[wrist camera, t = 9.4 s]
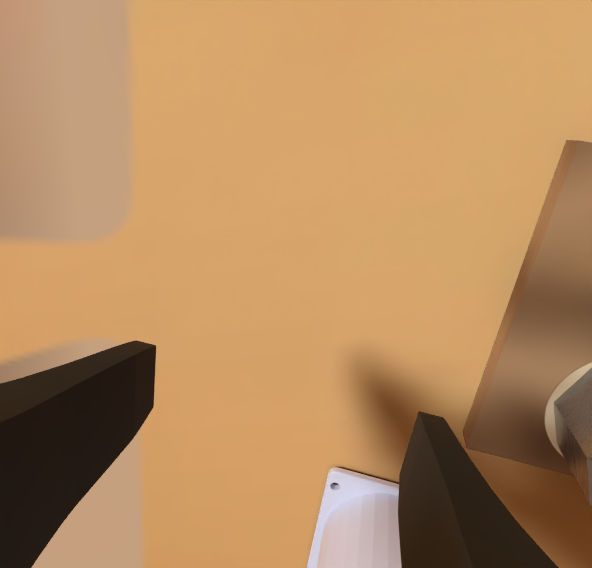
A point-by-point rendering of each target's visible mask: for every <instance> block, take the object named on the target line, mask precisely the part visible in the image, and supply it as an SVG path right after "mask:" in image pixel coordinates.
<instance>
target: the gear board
mask: <svg viewBox="0 0 592 568" xmlns="http://www.w3.org/2000/svg"><path fill="white" fill-rule="evenodd" d="M591 368H592V143H590V142H584V141H573V140H567V141H566V144H565V146H564V149H563V152H562V155H561V158H560V160H559V163H558V166H557V169H556V172H555V175H554V177H553V180H552V183H551V186H550V189H549V191H548V194H547V197H546V200H545V203H544V205H543V208H542V211H541V214H540V217H539V219H538V222H537V225H536V228H535V231H534V233H533V236H532V239H531V242H530V245H529V247H528V250H527V253H526V256H525V259H524V262H523V264H522V267H521V270H520V273H519V276H518V278H517V281H516V284H515V287H514V290H513V292H512V295H511V298H510V301H509V304H508V306H507V309H506V312H505V315H504V318H503V320H502V323H501V326H500V329H499V332H498V335H497V337H496V340H495V343H494V346H493V349H492V351H491V354H490V357H489V360H488V363H487V365H486V368H485V371H484V374H483V377H482V379H481V382H480V385H479V388H478V391H477V393H476V396H475V399H474V402H473V405H472V408H471V410H470V413H469V416H468V419H467V422H466V424H465V427H464V430H463V435H464V439H465V443H466V448H468V449H472V450H476V451H480V452H484V453H488V454H492V455H495V456H499V457H503V458H507V459H511V460H515V461H519V462H522V463H526V464H530V465H534V466H538V467H542V468H546V469H550V470H553V471H557V472H561V473H565V474H569V475H573V473H572V471H571V469H570V467H569V465H568V464H567V462H566V460H565V458H564V456H563V454H562V452H561V450H560V449H559V447H558V445H557V439H556V427H555V415H554V401H555V400H557V399H558V398H559V397H560V396H561V395H562V394H563V393H564V392H565V391H566V390H567V389H569V388H570V387H571V386H572V385H573V384H574V383H575V382H576V381H577V380H578V379H580V378H581V377H582V376H583V375H584V374H585V373H586V372H587V371H588V370H589V369H591ZM573 476H574V475H573Z"/></svg>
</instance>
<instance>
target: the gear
mask: <svg viewBox="0 0 592 568" xmlns="http://www.w3.org/2000/svg"><path fill="white" fill-rule="evenodd" d="M554 415H555V427H556V439H557V445H558V447H559V449H560V450H561V452H562V454H563V456H564V458H565V460H566V462H567V464H568V465H569V467H570V469H571V471H572V473H573V475H574V477H575V479H576V480H577V482H578V484H579V486H580V488H581V490H582V492H583V494H584V495H585V497H586V499H587V501H588V503H589V505H590V506H592V368H591V369H589V370H588V371H587V372H586V373H585V374H584V375H583V376H582V377H581V378H580V379H578V380H577V381H576V382H575V383H574V384H573V385H572V386H571V387H570V388H569V389H567V390H566V391H565V392H564V393H563V394H562V395H561V396H560V397H559V398H558V399H557V400H555V401H554Z"/></svg>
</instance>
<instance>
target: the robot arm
mask: <svg viewBox="0 0 592 568" xmlns="http://www.w3.org/2000/svg"><path fill="white" fill-rule="evenodd" d="M155 359H156V345H152V344H148V343H144V342H140V341H132V342H128V343H125V344H122V345H119V346H116V347H113V348H110V349H107V350H105V351H101V352H99V353H96V354H93V355H90V356H87V357H84V358H82V359H79V360H76V361H73V362H70V363H67V364H64V365H61V366H58V367H55V368H52V369H49V370H46V371H43V372H39V373H36V374H33V375H30V376H26V377H24V378H20V379H16V380H13V381H9V382H5V383H1V384H0V568H31V567H32V566H33V564H34V563H35V561H36V560H37V558H38V557H39V555H40V554H41V552H42V551H43V549H44V548H45V547H46V545H47V544H48V542H49V541H50V539H51V538H52V537H53V535H54V534H55V533H56V531H57V530H58V528H59V527H60V526H61V524H62V523H63V521H64V520H65V519H66V518H67V516H68V515H69V514H70V512H71V511H72V510H73V508H74V507H75V506H76V505H77V504H78V502H79V501H80V500H81V499H82V498H83V497H84V496H85V494H86V493H87V492H88V491H89V490H90V489H91V487H92V486H93V485H94V484H95V483H96V481H97V480H98V479H99V478H100V477H101V476H102V475H103V473H104V472H105V471H106V470H107V469H108V468H109V466H110V465H111V464H112V463H113V462H114V461H115V459H116V458H117V457H118V456H119V455H120V453H121V452H122V451H123V450H124V448H125V447H126V446H127V445H128V444H129V443H130V442H131V440H132V439H133V438H134V436H135V435H136V433H137V432H138V430H139V429H140V427H141V426H142V425H143V423H144V421H145V420H146V418H147V417H148V415H149V413H150V412H151V410H152V408H153V405H154V382H155ZM333 483H337V484H339V485H334V484H333ZM307 568H558V567H557V566H556V565H555V563H554V562H553V561H552V560H551V559H550V558H549V557H548V556H547V555H546V554H545V553H544V552H543V551H542V549H541V548H540V547H539V546H538V545H537V544H536V543H535V542H534V541H533V539H532V538H531V537H530V536H529V535H528V534H527V533H526V532H525V530H524V529H523V528H522V527H521V526H520V525H519V523H518V522H517V521H516V520H515V519H514V517H513V516H512V515H511V514H510V512H509V511H508V510H507V508H506V507H505V506H504V505H503V503H502V502H501V501H500V500H499V498H498V497H497V496H496V494H495V493H494V492H493V490H492V489H491V488H490V486H489V485H488V484H487V482H486V481H485V479H484V478H483V477H482V475H481V474H480V472H479V471H478V470H477V468H476V467H475V465H474V464H473V462H472V461H471V459H470V458H469V456H468V455H467V453H466V452H465V450H464V449H463V447H462V446H461V444H460V443H459V441H458V439H457V438H456V436H455V435H454V433H453V432H452V430H451V429H450V427H449V425H448V424H447V422H446V421H445V419H444V418H443V417H439V416H435V415H431V414H427V413H423V412H419V413H418V416H417V419H416V423H415V426H414V429H413V432H412V436H411V439H410V442H409V445H408V449H407V452H406V455H405V459H404V462H403V465H402V468H401V472H400V478H399V484H396V483H393V482H389V481H385V480H382V479H378V478H374V477H371V476H367V475H364V474H360V473H356V472H353V471H349V470H345V469H342V468H337V467H335V468H332V469H330V471H329V473H328V477H327V481H326V486H325V490H324V494H323V499H322V503H321V507H320V512H319V516H318V521H317V525H316V529H315V534H314V538H313V542H312V547H311V551H310V555H309V560H308V564H307Z"/></svg>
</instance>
